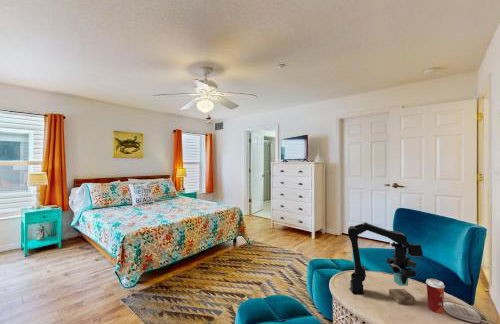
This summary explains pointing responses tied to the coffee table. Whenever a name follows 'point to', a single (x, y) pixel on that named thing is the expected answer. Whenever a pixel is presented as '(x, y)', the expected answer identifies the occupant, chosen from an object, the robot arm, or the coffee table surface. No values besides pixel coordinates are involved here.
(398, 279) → the teal cube
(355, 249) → the robot arm
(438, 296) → the coffee cup
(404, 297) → the walnut block
